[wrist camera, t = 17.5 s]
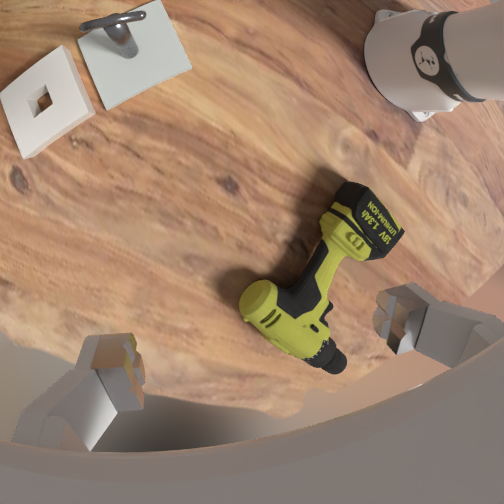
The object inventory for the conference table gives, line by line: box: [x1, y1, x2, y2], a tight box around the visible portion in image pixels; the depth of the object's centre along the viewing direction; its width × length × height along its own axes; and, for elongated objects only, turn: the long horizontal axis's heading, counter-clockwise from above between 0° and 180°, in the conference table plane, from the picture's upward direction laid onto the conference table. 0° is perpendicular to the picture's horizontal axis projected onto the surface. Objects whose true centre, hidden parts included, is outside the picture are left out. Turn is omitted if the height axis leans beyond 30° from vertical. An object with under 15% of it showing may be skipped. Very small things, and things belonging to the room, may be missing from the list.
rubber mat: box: [77, 0, 192, 110], centre depth 27 cm, size 11×11×1 cm
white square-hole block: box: [0, 45, 96, 159], centre depth 25 cm, size 10×10×3 cm
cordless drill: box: [239, 181, 405, 374], centre depth 43 cm, size 7×25×25 cm
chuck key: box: [79, 10, 146, 59], centre depth 22 cm, size 6×2×11 cm, turn 92°
